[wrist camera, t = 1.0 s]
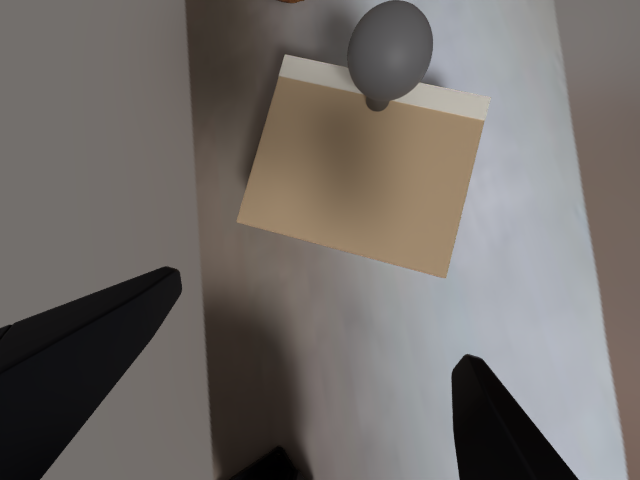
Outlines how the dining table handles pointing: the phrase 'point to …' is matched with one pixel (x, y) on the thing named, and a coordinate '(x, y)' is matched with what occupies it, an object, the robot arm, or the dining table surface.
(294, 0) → the bread roll
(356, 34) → the lid
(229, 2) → the dining table surface
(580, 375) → the dining table surface
